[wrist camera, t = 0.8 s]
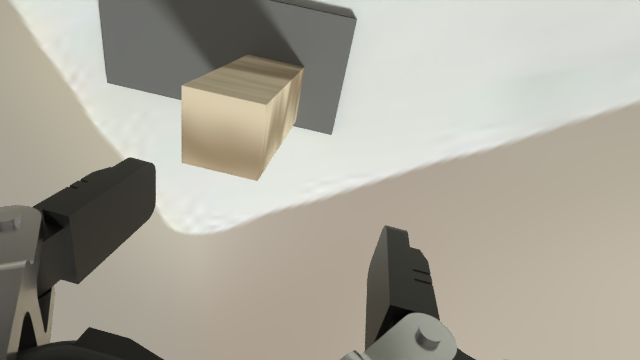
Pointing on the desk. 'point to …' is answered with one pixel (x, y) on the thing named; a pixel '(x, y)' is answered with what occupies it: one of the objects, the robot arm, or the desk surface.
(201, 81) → the birch block
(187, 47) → the rubber mat
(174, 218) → the desk surface
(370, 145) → the desk surface
